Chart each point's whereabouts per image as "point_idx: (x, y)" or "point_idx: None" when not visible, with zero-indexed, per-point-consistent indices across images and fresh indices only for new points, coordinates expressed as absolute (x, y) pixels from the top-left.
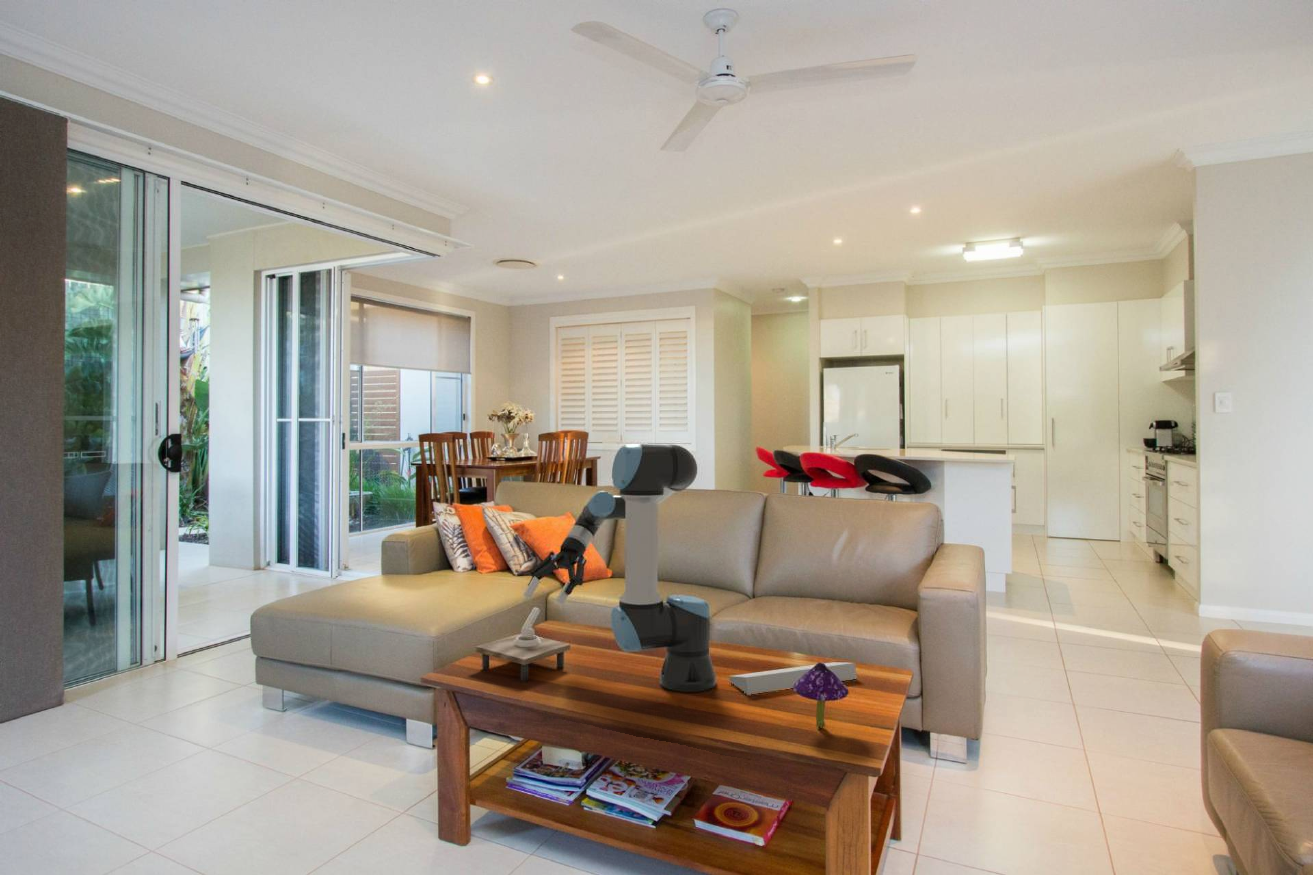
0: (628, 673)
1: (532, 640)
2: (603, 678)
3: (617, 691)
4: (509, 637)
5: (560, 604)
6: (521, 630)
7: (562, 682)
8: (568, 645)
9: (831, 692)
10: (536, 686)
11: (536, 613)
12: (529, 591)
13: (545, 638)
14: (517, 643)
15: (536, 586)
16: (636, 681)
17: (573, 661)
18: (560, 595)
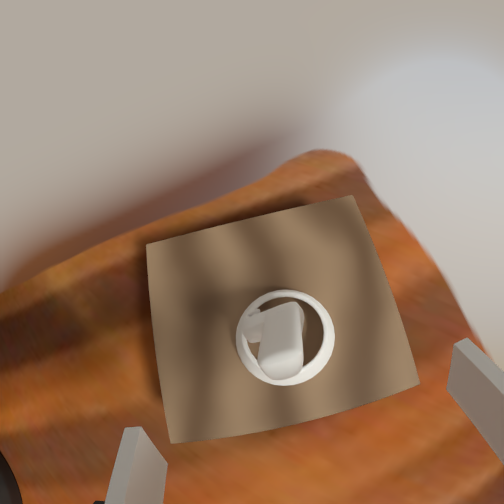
0: (69, 482)
1: (241, 330)
2: (76, 425)
3: (20, 382)
4: (393, 319)
5: (161, 459)
6: (294, 302)
7: (115, 343)
8: (169, 434)
9: None
10: (136, 283)
11: (259, 349)
12: (472, 384)
13: (297, 422)
14: (278, 290)
15: (500, 450)
16: (31, 449)
17: (229, 472)
18: (118, 456)
